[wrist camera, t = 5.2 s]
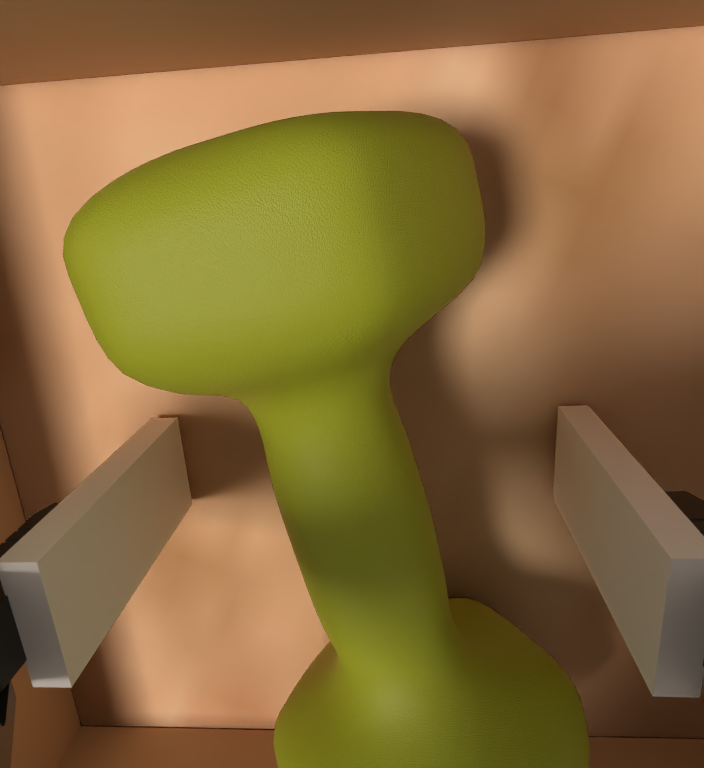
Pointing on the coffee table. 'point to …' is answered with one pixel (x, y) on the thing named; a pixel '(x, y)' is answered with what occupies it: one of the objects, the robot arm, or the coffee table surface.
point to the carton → (238, 47)
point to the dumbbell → (331, 411)
